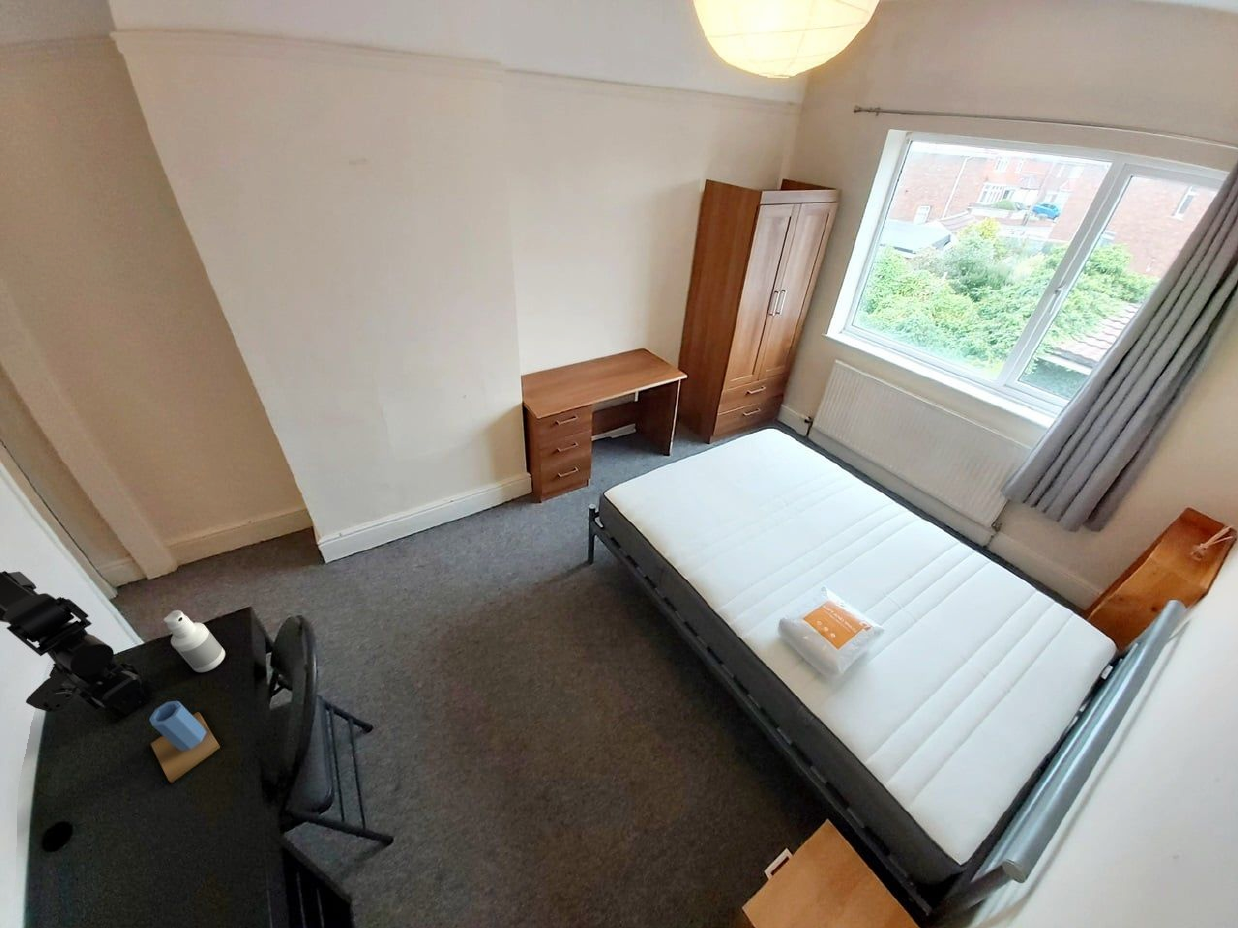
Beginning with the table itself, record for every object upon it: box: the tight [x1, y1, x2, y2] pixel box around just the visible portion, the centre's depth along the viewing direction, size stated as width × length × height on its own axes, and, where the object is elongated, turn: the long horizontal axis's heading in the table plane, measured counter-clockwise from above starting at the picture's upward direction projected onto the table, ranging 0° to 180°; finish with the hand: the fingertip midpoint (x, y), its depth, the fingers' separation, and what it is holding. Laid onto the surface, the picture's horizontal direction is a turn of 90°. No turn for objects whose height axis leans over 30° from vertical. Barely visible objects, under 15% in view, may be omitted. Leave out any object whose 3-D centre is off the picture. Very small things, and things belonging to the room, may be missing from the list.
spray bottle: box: [163, 609, 226, 673], centre depth 121 cm, size 7×7×18 cm
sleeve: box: [148, 700, 206, 751], centre depth 106 cm, size 5×5×11 cm
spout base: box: [150, 711, 221, 784], centre depth 107 cm, size 12×9×4 cm
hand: (116, 705), depth 103 cm, fingers open, 9 cm apart
